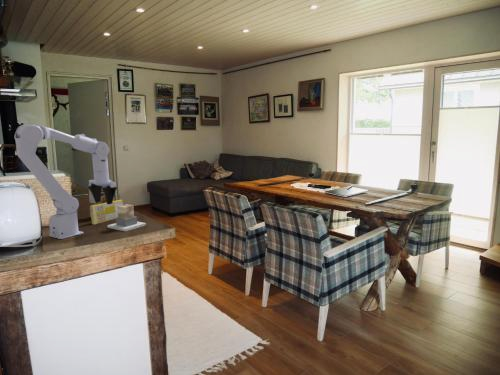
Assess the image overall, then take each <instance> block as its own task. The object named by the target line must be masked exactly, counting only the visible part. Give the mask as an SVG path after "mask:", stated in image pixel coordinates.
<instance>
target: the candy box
mask: <svg viewBox="0 0 500 375" xmlns="http://www.w3.org/2000/svg"><path fill="white" fill-rule="evenodd" d="M121 205H124V200H123V199H117V200H114V201H113V203H112V204H107V203H102V204H98V205H93V206H90V205H89V211H90V210H91V217H90V218H91V224H92V225H96V224H97V225H98V224H102V223H106V222H109V221H113V220H116V218H118V206H121Z"/></svg>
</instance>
